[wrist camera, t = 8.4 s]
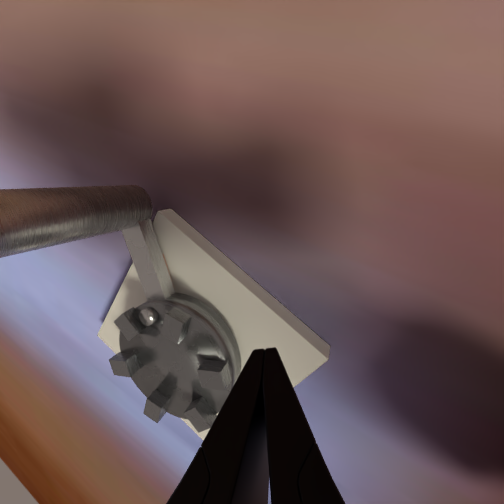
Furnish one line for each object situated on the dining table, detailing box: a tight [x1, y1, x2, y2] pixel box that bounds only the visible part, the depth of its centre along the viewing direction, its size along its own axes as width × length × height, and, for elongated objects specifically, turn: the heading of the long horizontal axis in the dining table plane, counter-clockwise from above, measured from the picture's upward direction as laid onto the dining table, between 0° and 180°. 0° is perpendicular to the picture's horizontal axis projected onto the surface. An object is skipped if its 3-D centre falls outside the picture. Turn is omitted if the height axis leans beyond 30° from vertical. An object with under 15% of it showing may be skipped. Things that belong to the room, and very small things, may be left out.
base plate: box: [97, 209, 330, 441], centre depth 22 cm, size 16×16×2 cm
